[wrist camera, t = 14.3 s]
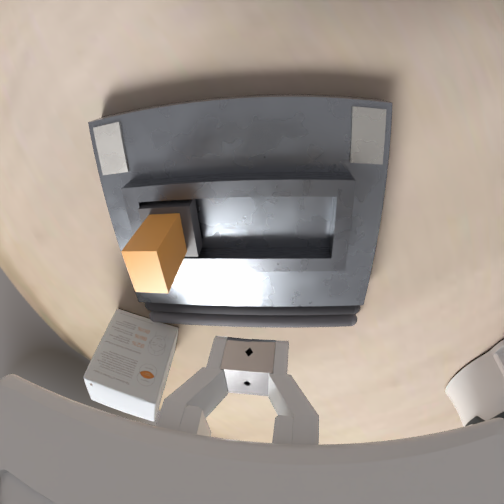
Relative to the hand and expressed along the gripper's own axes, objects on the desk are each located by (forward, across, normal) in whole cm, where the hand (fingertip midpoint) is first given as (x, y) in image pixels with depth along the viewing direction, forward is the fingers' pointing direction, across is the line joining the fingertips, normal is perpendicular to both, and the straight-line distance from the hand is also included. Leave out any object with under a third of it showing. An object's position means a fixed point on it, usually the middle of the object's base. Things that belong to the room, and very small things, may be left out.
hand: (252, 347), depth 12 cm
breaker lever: (+12, +8, +1) cm, 14 cm away
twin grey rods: (+14, +2, +12) cm, 19 cm away
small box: (+14, +15, +17) cm, 27 cm away
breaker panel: (+14, +3, +1) cm, 14 cm away
